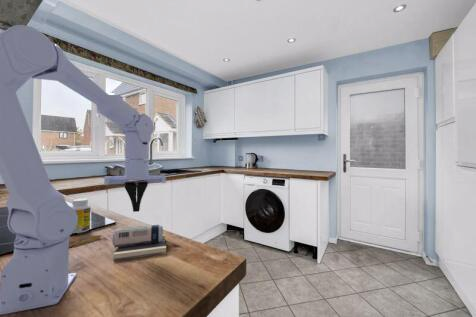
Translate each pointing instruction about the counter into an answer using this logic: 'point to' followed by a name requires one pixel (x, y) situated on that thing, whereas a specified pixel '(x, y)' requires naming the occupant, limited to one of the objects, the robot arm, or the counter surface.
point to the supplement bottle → (82, 215)
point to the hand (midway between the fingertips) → (136, 210)
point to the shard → (81, 240)
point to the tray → (140, 250)
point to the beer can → (137, 235)
